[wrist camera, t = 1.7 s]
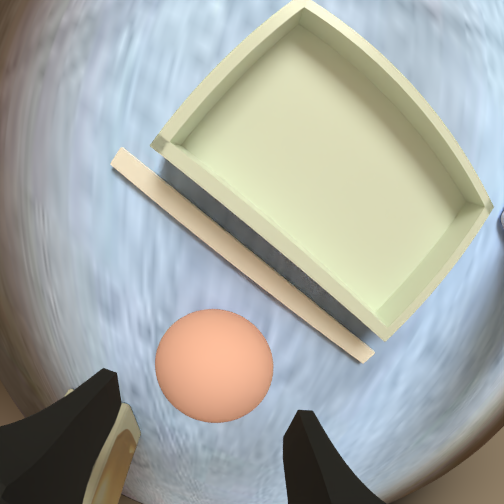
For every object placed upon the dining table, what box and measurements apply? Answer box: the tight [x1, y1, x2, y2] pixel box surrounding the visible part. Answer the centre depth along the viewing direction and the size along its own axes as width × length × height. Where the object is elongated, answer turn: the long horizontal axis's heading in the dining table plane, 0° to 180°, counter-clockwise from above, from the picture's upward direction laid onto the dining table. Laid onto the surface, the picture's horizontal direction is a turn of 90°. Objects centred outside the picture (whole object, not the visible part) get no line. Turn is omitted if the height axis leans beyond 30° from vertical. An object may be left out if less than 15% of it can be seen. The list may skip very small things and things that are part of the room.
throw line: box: [111, 147, 375, 363], centre depth 13 cm, size 18×1×1 cm, turn 50°
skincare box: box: [64, 389, 141, 504], centre depth 12 cm, size 6×4×12 cm
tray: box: [150, 0, 494, 342], centre depth 11 cm, size 14×10×2 cm
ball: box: [155, 309, 273, 423], centre depth 12 cm, size 6×6×6 cm
